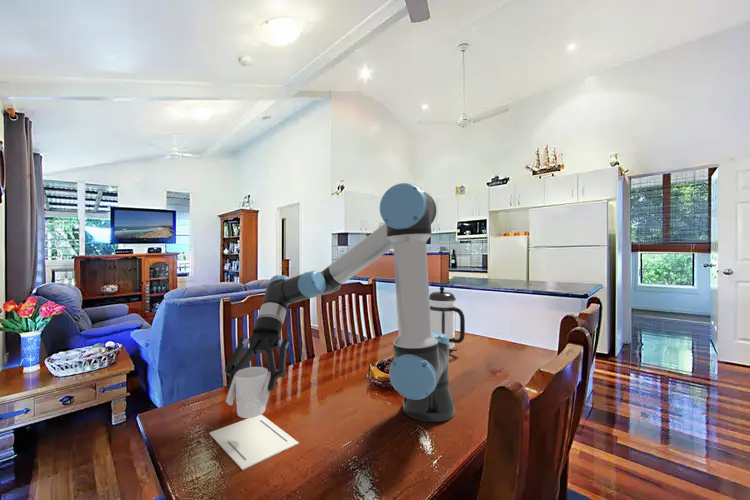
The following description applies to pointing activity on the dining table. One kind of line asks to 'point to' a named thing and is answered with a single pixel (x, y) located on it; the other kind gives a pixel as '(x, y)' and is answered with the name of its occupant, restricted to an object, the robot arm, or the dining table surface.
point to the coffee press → (445, 316)
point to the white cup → (250, 391)
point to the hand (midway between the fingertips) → (245, 403)
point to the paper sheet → (252, 440)
